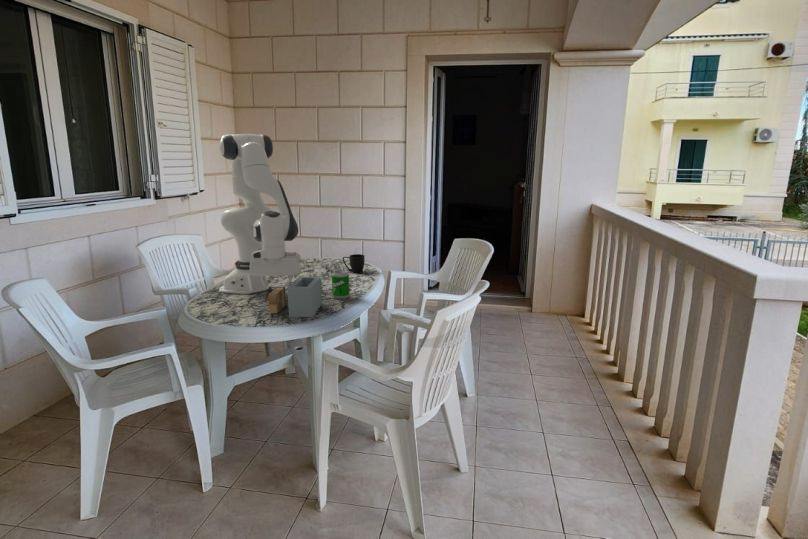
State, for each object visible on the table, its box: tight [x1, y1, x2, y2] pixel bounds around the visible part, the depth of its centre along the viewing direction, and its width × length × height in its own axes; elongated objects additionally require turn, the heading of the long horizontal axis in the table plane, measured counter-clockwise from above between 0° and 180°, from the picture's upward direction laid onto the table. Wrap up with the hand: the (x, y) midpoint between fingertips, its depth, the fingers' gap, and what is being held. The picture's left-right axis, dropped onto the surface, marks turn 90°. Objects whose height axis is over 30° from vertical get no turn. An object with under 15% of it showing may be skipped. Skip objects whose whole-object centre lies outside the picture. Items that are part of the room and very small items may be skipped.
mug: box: [342, 253, 366, 274], centre depth 248 cm, size 8×12×10 cm
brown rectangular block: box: [268, 286, 287, 314], centre depth 184 cm, size 12×3×8 cm, turn 178°
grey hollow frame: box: [287, 276, 323, 318], centre depth 183 cm, size 9×18×12 cm, turn 178°
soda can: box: [331, 269, 350, 300], centre depth 201 cm, size 8×8×12 cm
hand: (277, 286), depth 183 cm, fingers open, 8 cm apart
